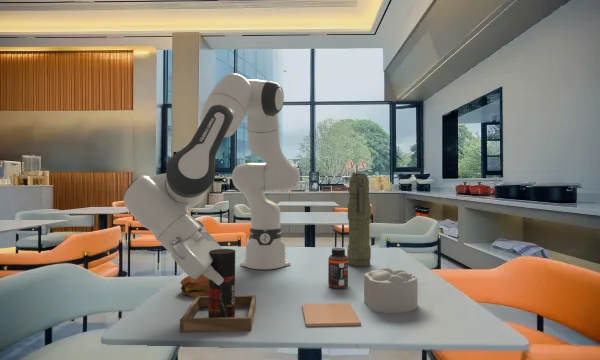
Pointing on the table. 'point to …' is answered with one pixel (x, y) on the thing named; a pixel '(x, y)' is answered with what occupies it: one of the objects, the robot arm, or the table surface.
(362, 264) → the olive green pillar
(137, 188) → the robot arm
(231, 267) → the deodorant
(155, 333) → the table surface
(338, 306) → the coaster
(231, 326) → the corral
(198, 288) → the burger
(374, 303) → the lumpy-topped squat cylinder
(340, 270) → the supplement bottle
